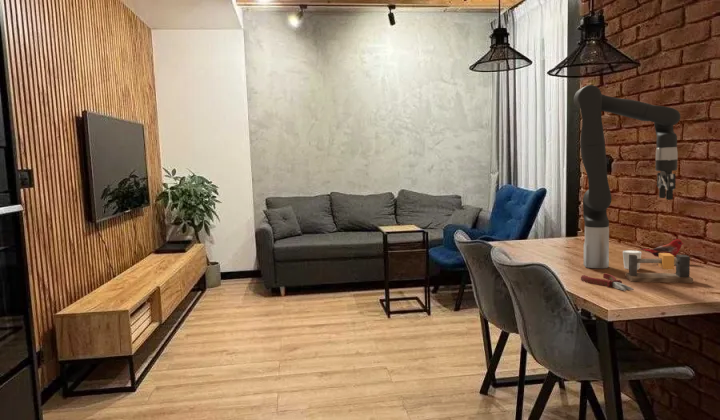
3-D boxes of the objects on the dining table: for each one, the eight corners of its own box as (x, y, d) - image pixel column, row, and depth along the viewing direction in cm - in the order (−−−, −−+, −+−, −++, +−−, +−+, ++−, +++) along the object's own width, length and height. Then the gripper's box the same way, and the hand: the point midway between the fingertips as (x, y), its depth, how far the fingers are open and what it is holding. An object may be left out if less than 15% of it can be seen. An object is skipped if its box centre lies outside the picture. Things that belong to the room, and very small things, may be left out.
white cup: (625, 265, 205) (625, 249, 205) (643, 267, 200) (643, 250, 200) (620, 268, 201) (620, 251, 200) (638, 270, 196) (638, 253, 195)
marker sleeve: (663, 269, 178) (663, 255, 178) (658, 266, 183) (658, 253, 182) (673, 269, 177) (674, 255, 177) (668, 266, 182) (669, 253, 182)
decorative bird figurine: (685, 262, 206) (686, 239, 205) (641, 263, 208) (641, 240, 207) (681, 261, 209) (682, 238, 208) (638, 262, 211) (638, 239, 210)
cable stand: (631, 281, 180) (631, 257, 179) (625, 276, 188) (625, 253, 187) (693, 282, 175) (693, 258, 174) (684, 277, 182) (685, 253, 182)
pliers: (614, 294, 166) (614, 287, 166) (579, 281, 186) (579, 274, 185) (644, 292, 168) (644, 284, 167) (606, 278, 187) (606, 272, 187)
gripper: (650, 159, 204) (650, 197, 206) (661, 159, 190) (661, 200, 192) (670, 158, 202) (670, 197, 204) (683, 158, 188) (682, 200, 190)
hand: (665, 198), depth 198 cm, fingers open, 8 cm apart
